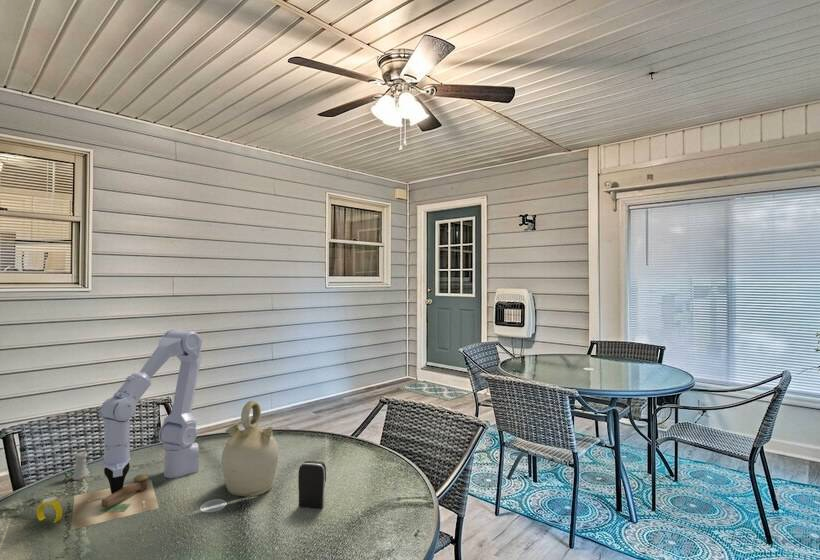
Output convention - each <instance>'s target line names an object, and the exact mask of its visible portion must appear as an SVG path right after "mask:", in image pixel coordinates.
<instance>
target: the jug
mask: <svg viewBox="0 0 820 560" xmlns="http://www.w3.org/2000/svg"><path fill="white" fill-rule="evenodd" d="M251 410H252V418H251V420H250V413H251ZM261 413H262V412H261V406H260V404H259V403H258V402H257V401H254V400H250V401H248V402H246V403H245V404H244V405H243V407H242V410H241V414H240V421H241V425H242V427H243V428H244V429H243V430H241V429H239V422H236V423H234V424H233V425H231V426H229V427H227V429H225V431H224V432H226V433H227V434H229V435H230V437H229V440H228V441H226V444H225V445H224V447H223V449H222V454H221V466H222V467H221V468H222V473H223V474H222V475H223V479H224V482H225V486H226V487H225V488H226V489H227V491H228V493H229V494H231V495H234V496H243V497H242V498H243V499H244V498H245V497H247V498H252V497H257V495H258V496H261V495H264V494H266V493H268V492H269V491H270V490H271V489H272V487H273V485H274V480H275V478H276V477H275V476H276V472H277V467H278V462H279V446H278V443H277V441H276V439H275V437H274V436H273V430H274V428H273V426H269V427H267V428H264V429H261V428H259V426H258V425H259V424H260V420H261ZM267 491H268V492H267ZM265 492H266V493H265ZM260 494H261V495H260Z"/></svg>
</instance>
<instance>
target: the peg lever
mask: <svg viewBox="0 0 820 560" xmlns="http://www.w3.org/2000/svg"><path fill="white" fill-rule="evenodd" d="M147 480H149V475H148V474H138V475H136V476H134V478H133V481H132V482H130V483H128V484H129V485H127V484H126V485H127V486H125V487H124V488H122V489H120V490H118V491H117V492H115V493H113V494H111V495H110V496H108V497H106V498H104V499H102V507H106V508H108V507H110V506H112V505H113V504H115V503H117V502H118V501H120V500H122V499H123V498H125V497H127V496H128V495H130V494H132V493H133V492H135V491H136V492H141V491H144V490H146V489H147Z"/></svg>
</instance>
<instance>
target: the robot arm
mask: <svg viewBox="0 0 820 560" xmlns="http://www.w3.org/2000/svg"><path fill="white" fill-rule="evenodd" d="M202 342H203V339H202V337H201V336H200V335H199V334H198V332H196V331H187V330H175V329H169V330H167V331H166V332H165V333H164V334H163V336H162V337H161V338H160V339H159V340H158V345H157V347H156V349H155V350H154V351H153V353H152V354H151V355H150V356H149V358H148V360H147V361H146V362H145V364H144V365H143V366H142V368H140V371H138V372H135V373H132V374H131V375H128V376H127V377H126V378H125V380H126V381H125V382H124V383H123V384H122V385H121V386H120V388H119V389H118V390H117V391H115V393H114V394H113V395H112V397H110V398H107V399H105V400H104V402H103V403H101V406H100V409H99V410H98V414H99V416H100V418H102V420H103V421H102V422H103V423H102V424H103V425H104V427H103V431H104V432H103V460H100V461H98V466H99V467H104V469H103V470H104V472H103V473H104V475H105V477H106V478H107V480H108V484H109V488H110V489H111V493H112V494H113V493H115V492H117V491H118V490H120V489H122V488H123V485H125V484H124V483H125V480H126V476H127V474H128V472H129V471H130V468H131V466H130V462H131V454H130V453H131V450H130V449H131V447H130V445H131V433H130V432H131V417H132V416H134V415H135V413H136V409H137V405H138V402H139V401H140V400H141V398H142V397H143V395H145V393H146V392H147V390H149V388H150V387H151V386H152V385H151V384H152V382H151V381H152V380H151V378H153V376H154V375H155V374H156V373H158V371H159V370H160V369H161V368H162V367H163V366H164V364H166V362H167V361H168V360H169V359H170V358H172V357H177V359H178V360H179V361H180V365H179V371H178V376H177V380H176V386H175V392H174V396H173V403H172V408H171V413H169V415H167V416H166V417H164V418H163V419H164V420H163V424H162V426H160V429H159V430H158V431H159V432H158V440H159V442H161V443H162V447H163V451H164V452H163V453H164V454H163V476H164V477H165V478H168V479H175V478H180V477H184V476H187V475H191V474H196V473H199V470H200V469H199V468H200V464H199V462H200V449H199V448H200V447H199V444H198V442H195V441H196V439H197V436H198V430H197V419H195V417H194V416H193V414H192V409H193V405H194V404H193V403H194V399H195V393H196V388H197V387H196V386H197V382H198V376H199V373H200V367H201V361H202V351H201V348H202V344H203V343H202Z"/></svg>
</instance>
